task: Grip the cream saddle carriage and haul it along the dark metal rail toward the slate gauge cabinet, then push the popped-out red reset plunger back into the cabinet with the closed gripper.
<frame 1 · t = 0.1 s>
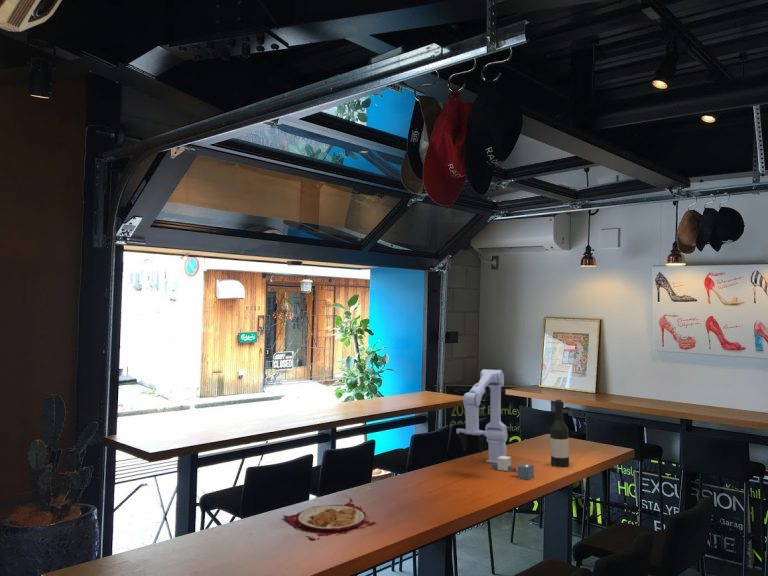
hand: (472, 451, 262), 10 cm above the table, tool pointing down, fingers open, 7 cm apart
plunger: (516, 469, 258), point 3 cm above the table, slide at 3.5 cm
rail: (511, 470, 267), on the table
wine bottle: (560, 465, 276), on the table
carriage: (504, 463, 269), point 3 cm above the table, slide at 0.0 cm
plate with food: (333, 524, 203), on the table
gauge cabinet: (525, 477, 256), on the table
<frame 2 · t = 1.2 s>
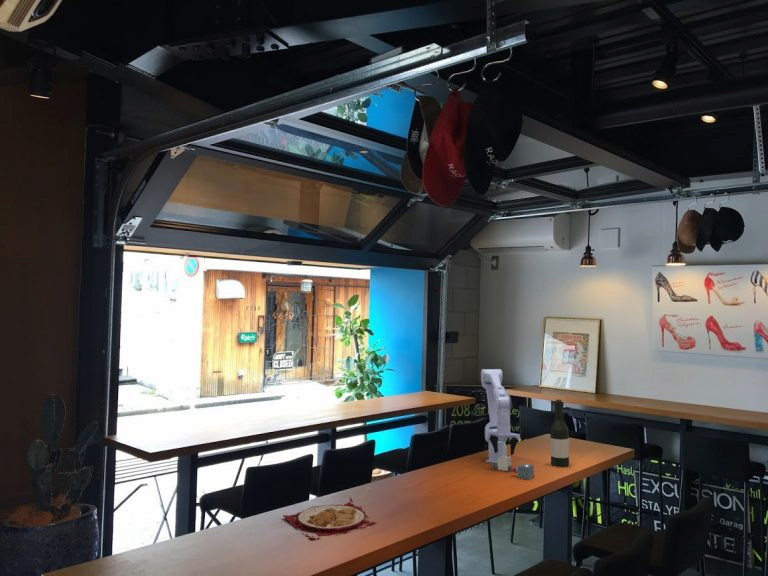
hand: (504, 453, 269), 7 cm above the table, tool pointing down, fingers open, 7 cm apart
nothing on the table moved.
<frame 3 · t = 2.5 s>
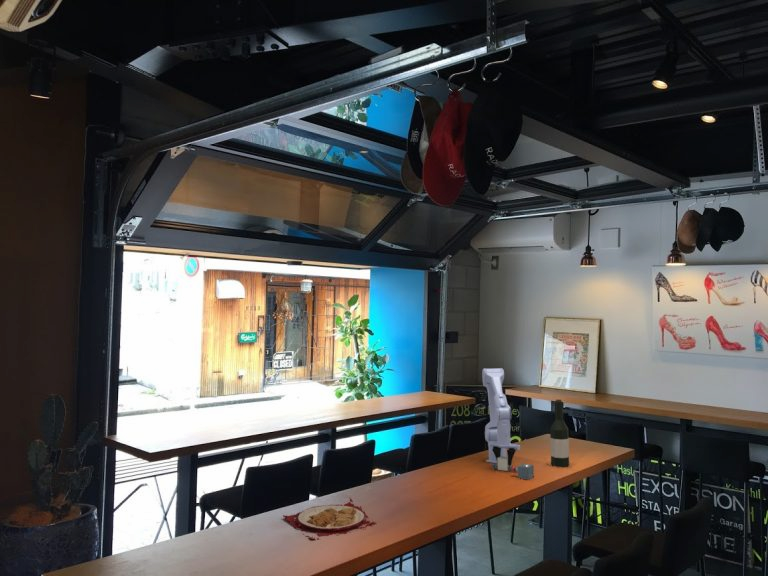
hand: (504, 464, 269), 2 cm above the table, tool pointing down, fingers closed on carriage, 4 cm apart
carriage: (504, 463, 269), point 3 cm above the table, slide at 0.0 cm, touching gripper
everything else where it was.
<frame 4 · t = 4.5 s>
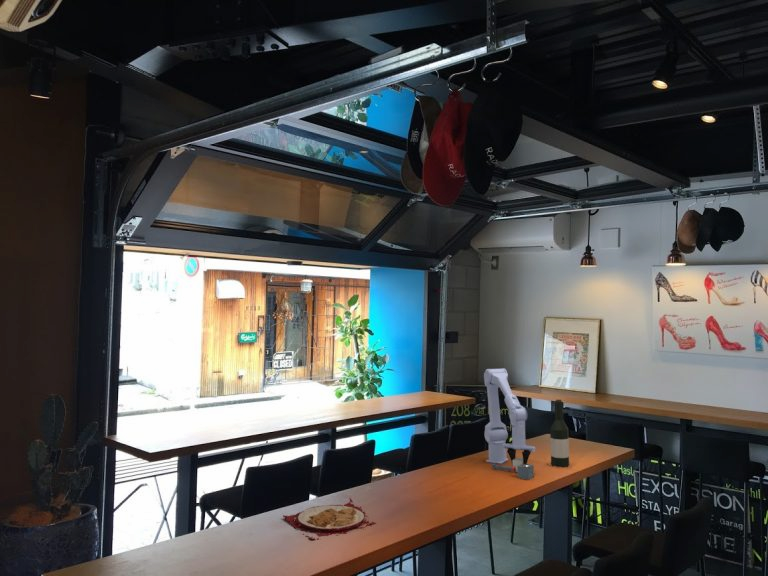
hand: (519, 466, 265), 2 cm above the table, tool pointing down, fingers closed on carriage, 4 cm apart
carriage: (519, 465, 265), point 3 cm above the table, slide at 7.0 cm, touching gripper
everything else where it was.
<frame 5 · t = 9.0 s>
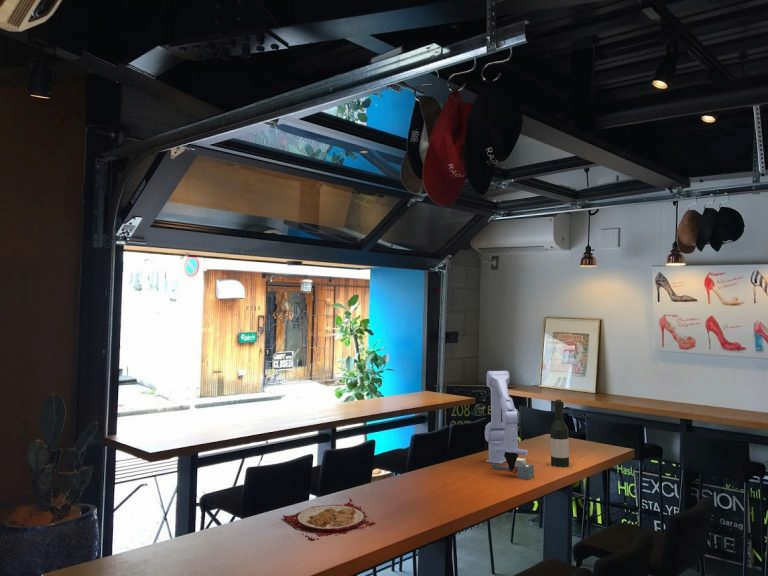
hand: (511, 470, 259), 2 cm above the table, tool pointing down, fingers closed
plunger: (518, 469, 258), point 3 cm above the table, slide at 2.6 cm, touching gripper
carriage: (519, 465, 265), point 3 cm above the table, slide at 7.0 cm
everything else where it was.
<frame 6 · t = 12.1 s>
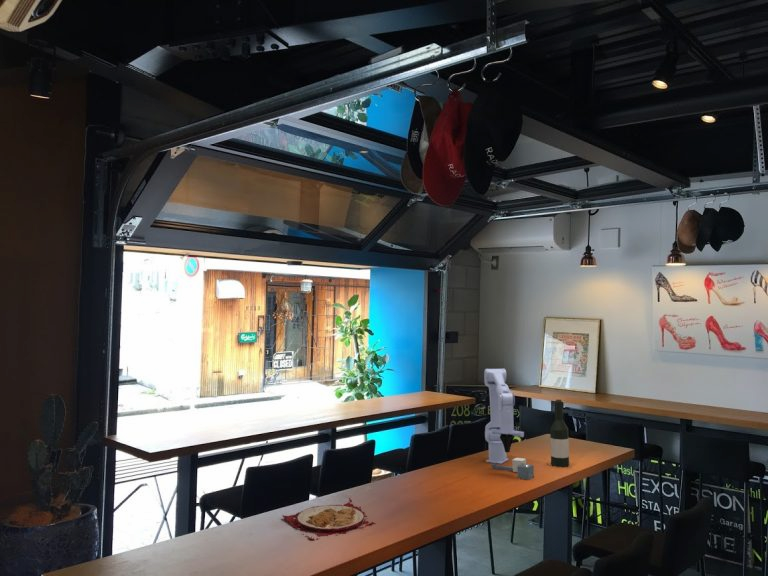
hand: (507, 452, 261), 10 cm above the table, tool pointing down, fingers closed
plunger: (523, 470, 257), point 3 cm above the table, slide at 0.5 cm
everything else where it was.
at the end: carriage slide at 7.0 cm; plunger slide at 0.5 cm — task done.
